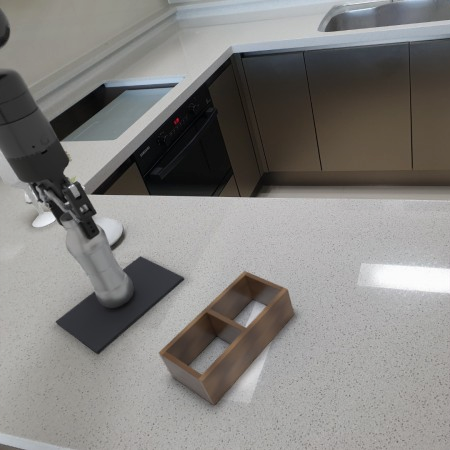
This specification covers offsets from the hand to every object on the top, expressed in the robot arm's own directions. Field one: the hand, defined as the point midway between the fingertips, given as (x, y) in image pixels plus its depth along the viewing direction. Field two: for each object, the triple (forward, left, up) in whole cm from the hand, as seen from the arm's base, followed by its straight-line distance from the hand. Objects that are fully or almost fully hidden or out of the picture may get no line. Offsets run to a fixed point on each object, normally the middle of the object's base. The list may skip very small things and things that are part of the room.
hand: (80, 229), depth 77 cm
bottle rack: (+4, -27, -17) cm, 32 cm away
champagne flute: (+8, +45, -18) cm, 49 cm away
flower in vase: (+9, +22, -18) cm, 30 cm away
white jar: (+12, +59, -18) cm, 63 cm away
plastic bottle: (0, 0, -17) cm, 17 cm away
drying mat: (0, 0, -17) cm, 17 cm away
